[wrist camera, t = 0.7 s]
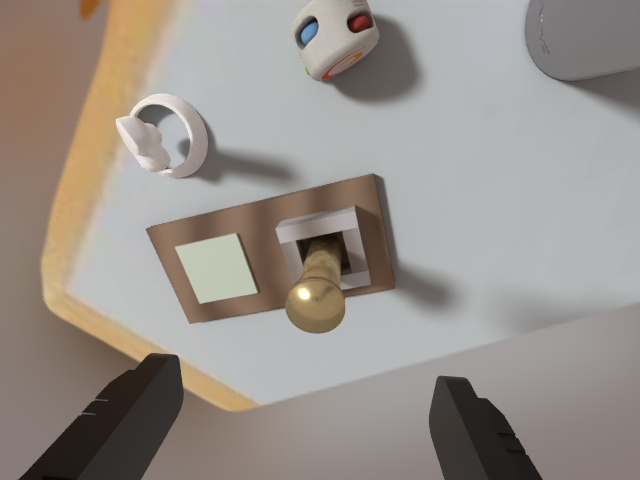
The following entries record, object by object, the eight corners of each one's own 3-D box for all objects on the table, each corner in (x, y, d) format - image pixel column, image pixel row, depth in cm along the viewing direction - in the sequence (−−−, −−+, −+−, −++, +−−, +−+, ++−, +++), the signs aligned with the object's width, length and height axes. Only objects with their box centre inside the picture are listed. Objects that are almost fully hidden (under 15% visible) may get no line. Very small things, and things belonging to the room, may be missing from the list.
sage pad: (237, 232, 30) (236, 233, 30) (258, 291, 33) (257, 293, 32) (176, 246, 32) (174, 247, 31) (200, 302, 34) (199, 303, 33)
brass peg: (340, 224, 29) (337, 276, 19) (349, 261, 30) (350, 328, 20) (301, 233, 30) (278, 287, 20) (311, 268, 31) (294, 337, 21)
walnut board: (373, 173, 28) (376, 179, 25) (394, 283, 32) (399, 301, 29) (151, 226, 32) (129, 237, 29) (193, 318, 36) (178, 337, 33)
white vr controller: (250, 139, 23) (176, 196, 21) (216, 153, 33) (164, 192, 31) (178, 40, 20) (82, 97, 18) (165, 89, 30) (103, 129, 28)
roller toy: (290, 38, 25) (274, 13, 20) (358, -9, 23) (362, -50, 18) (315, 89, 26) (307, 79, 21) (382, 48, 25) (392, 25, 19)
